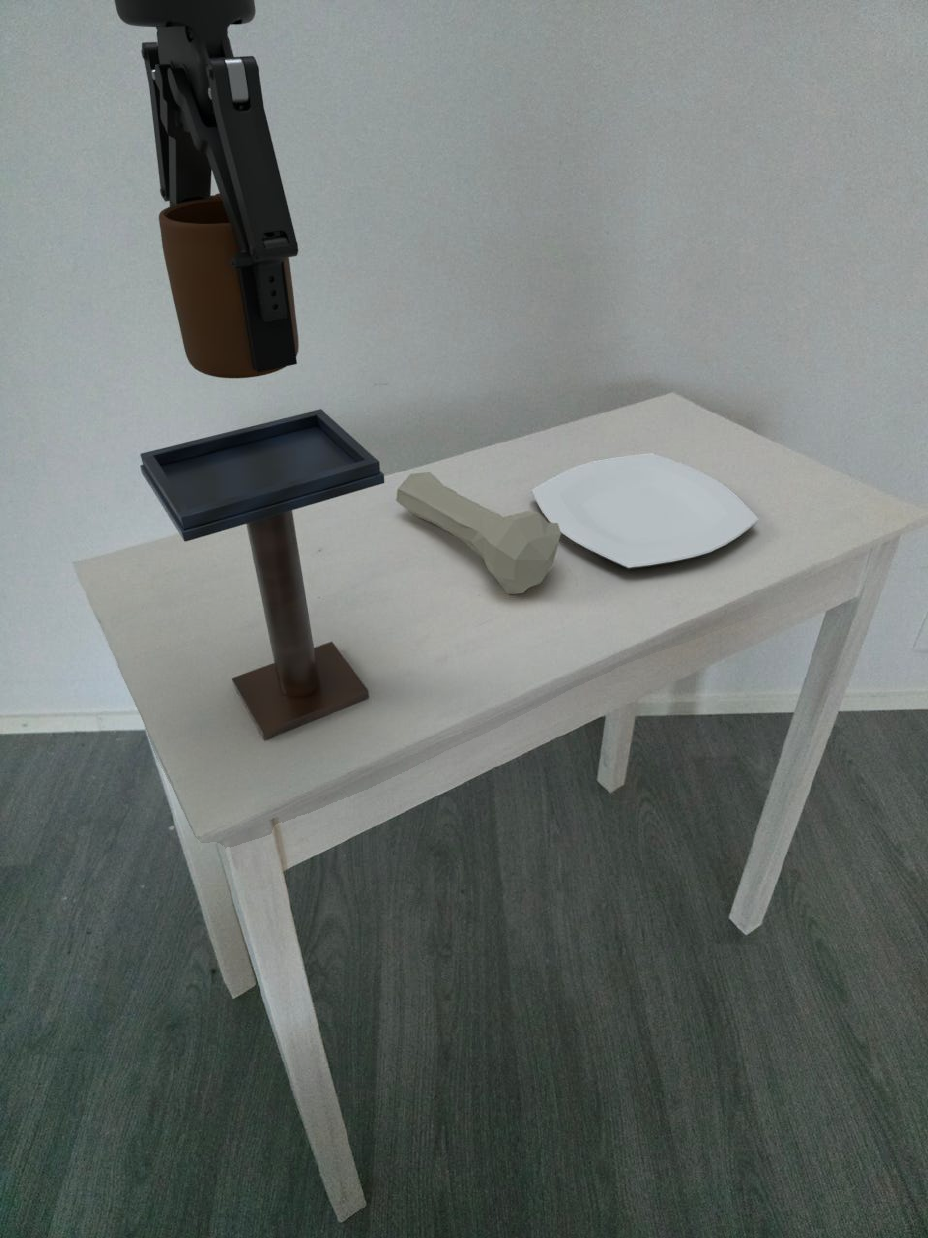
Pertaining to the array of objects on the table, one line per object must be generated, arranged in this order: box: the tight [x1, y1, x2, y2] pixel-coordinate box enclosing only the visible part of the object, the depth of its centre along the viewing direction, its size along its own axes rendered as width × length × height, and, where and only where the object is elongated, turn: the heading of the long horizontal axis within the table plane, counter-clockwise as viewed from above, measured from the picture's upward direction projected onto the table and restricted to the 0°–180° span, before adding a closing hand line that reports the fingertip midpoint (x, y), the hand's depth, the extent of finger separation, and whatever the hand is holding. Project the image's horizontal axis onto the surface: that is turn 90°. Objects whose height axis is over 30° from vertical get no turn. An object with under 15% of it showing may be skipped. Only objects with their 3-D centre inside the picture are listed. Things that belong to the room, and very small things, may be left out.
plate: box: [530, 452, 760, 570], centre depth 98 cm, size 23×23×2 cm
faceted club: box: [396, 471, 562, 595], centre depth 92 cm, size 9×8×25 cm
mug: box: [158, 192, 300, 379], centre depth 56 cm, size 12×8×9 cm, turn 13°
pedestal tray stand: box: [140, 408, 385, 741], centre depth 69 cm, size 15×11×24 cm
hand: (242, 337), depth 58 cm, fingers closed on mug, 12 cm apart
